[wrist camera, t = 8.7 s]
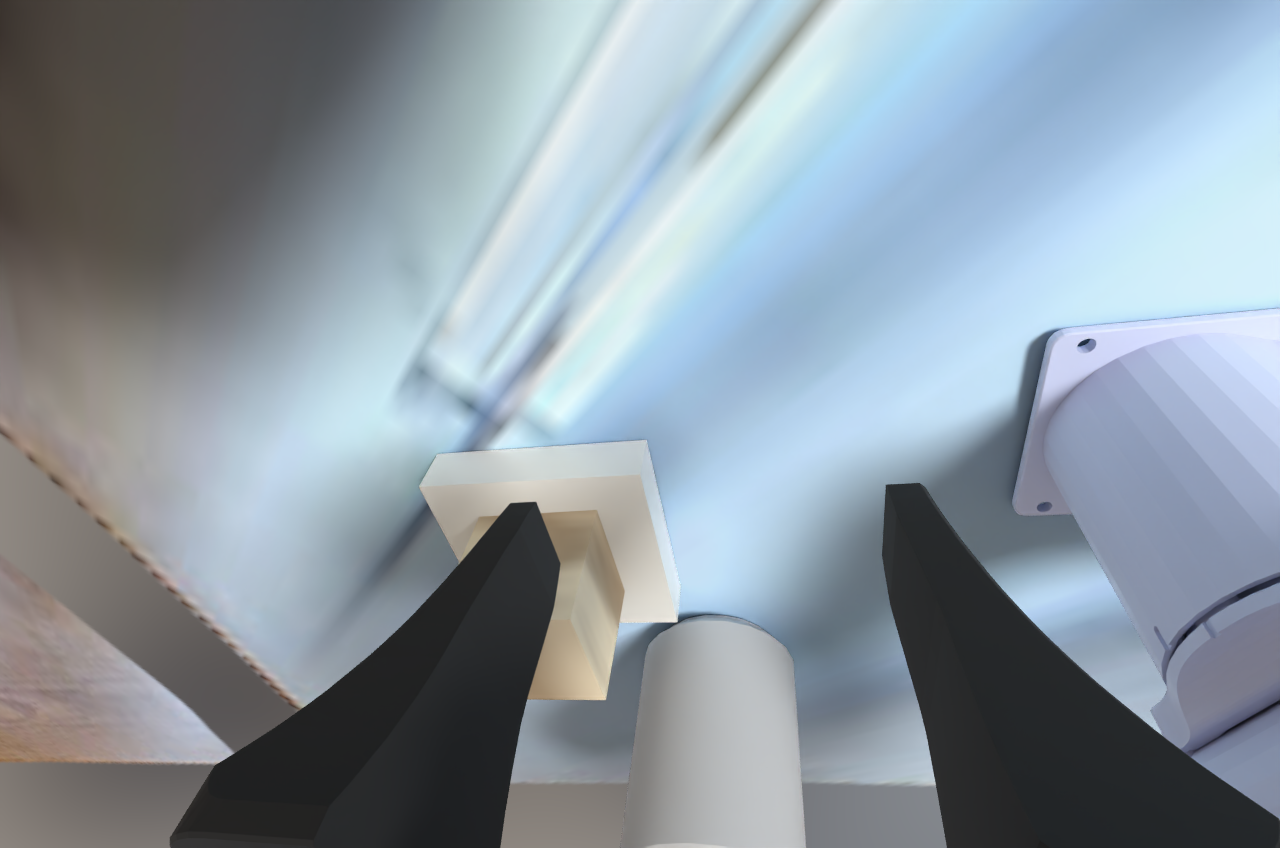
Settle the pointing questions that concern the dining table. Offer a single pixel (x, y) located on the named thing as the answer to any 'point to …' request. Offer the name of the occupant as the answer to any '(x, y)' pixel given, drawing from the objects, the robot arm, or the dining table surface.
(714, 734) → the can
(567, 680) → the cube
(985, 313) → the dining table surface
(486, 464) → the coaster
